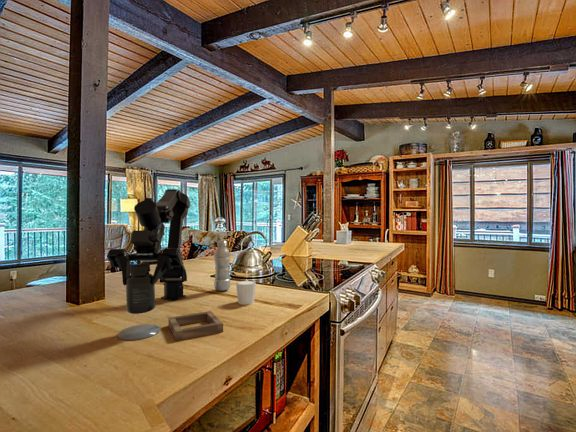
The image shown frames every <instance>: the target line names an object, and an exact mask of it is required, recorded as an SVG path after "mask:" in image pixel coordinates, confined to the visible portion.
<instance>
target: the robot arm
mask: <svg viewBox="0 0 576 432" xmlns="http://www.w3.org/2000/svg"><path fill="white" fill-rule="evenodd" d="M190 207H191V201H190V198H189V197H188V194H187V195H186V194H184V193H183V192H182V191H181V190H180V189H178V188H171V189H170V188H167V189H166V190H165V191H164V194H163V195H162V196H161V197H160V198H159V199H158V201H156V202H155V201H154V200H153V197H145V198H144V200H141V201H139V202H137V204H135V205H134V208H133V209H134V210H133V211H134V212H135V215H136V217H137V220H138V223H139V225H140V226H141V227H143V230H132V231H131V235H130V244H132V245H133V248H132V249H133V250H134V251H136V252H127V250H126V249H125V248H110V249H109V250H108V252H107V254H106V258H107V259H108V261H109V263H110V265H111V266H112V268H114V269H120V270H121V277H122V285H124V286H126V279H127V277H128V276H130V275H131V273H130V266H131V265H132V264H131V262H137V261H138V262H139V261H140V262H156V266H155V270H154V272H153V274H152V275H153V278H152V285H154V284H156V283H157V282H159V283H160V284H161V283H163V291H164V292H163V296H161V297H160V300H161V299H162V300H167V301H176V300H179V299H180V300H181V299H182V298H186V297H187V295H186V294H184V284H183V283H184V282H187V281H188V275H187V270H186V268H185V265H184V261H183V257H182V256H183V255H182V252H181V246H182V245H181V244H182V234H183V223H184V222H183V221H184V219H185V218H186V216H187V215H188V214H189V209H190ZM165 224H169V230H168V231H169V232H168V238H167V239H168V242H167V248H166V247H165V248H164V249H163V253H160V250H161V249H162V241H163V238H164V236H165V229H166V226H165Z"/></svg>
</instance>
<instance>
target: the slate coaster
mask: <svg viewBox="0 0 576 432" xmlns="http://www.w3.org/2000/svg"><path fill="white" fill-rule="evenodd" d="M160 330H161V328H160V326H159V325H157V324H151V323H148V324H138V325H137V324H136V325H132V326H129V327H126V328H124V329H122V330H120V331H119V332H118V334H117V336H118V337H117V338H119V339H120V340H122V341H140V340H145V339H149V338H150V337H154V336H155V335H157V334H159V333H160Z"/></svg>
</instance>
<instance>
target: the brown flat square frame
mask: <svg viewBox="0 0 576 432" xmlns="http://www.w3.org/2000/svg"><path fill="white" fill-rule="evenodd" d="M167 319H168V328H169V329H170V331H171V333H172V335H173V337H174V339H175V341H176V342H177V341H182V340H183V341H184V340H187V339H194V338H198V337H204V336H208V335H213V334H218V333H223V332H224V323H223V322H222V321H221V320H220V319H219V318H218V317H217V316H216V315H215V314H214V313H213V311H211V310H209V311H203V312H197V313H191V314H185V315H184V314H183V315H177V316H176V315H175V316H170V317H168V318H167ZM206 321H207V322H208V323H206V324H201V325H196V326H191V327H185V328H182V327H181V326H184V325H185V326H186V325H190V324H196V323H202V322H206Z"/></svg>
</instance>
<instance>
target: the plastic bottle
mask: <svg viewBox="0 0 576 432" xmlns="http://www.w3.org/2000/svg"><path fill="white" fill-rule="evenodd" d="M227 242H228V241H227V240H218V241H217V248H216V249H215V251H213V252H214V253H213V258H214V267H215V270H214V271H215V273H214V280H213V281H214V282H213V286H214V289H215V290H216V291H219V292H220V291H221V292H223V291H224V292H225V291H228V290H230V288H231V285H232V283H231V279H230V259H231V253H230V250H229V248H228V247H227V245H228V243H227Z"/></svg>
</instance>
